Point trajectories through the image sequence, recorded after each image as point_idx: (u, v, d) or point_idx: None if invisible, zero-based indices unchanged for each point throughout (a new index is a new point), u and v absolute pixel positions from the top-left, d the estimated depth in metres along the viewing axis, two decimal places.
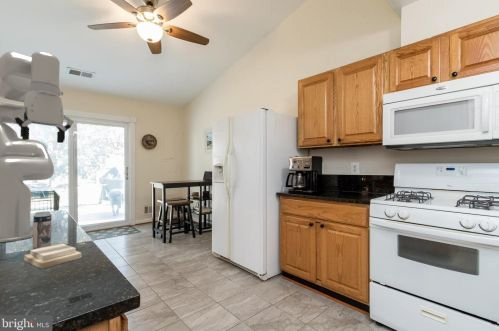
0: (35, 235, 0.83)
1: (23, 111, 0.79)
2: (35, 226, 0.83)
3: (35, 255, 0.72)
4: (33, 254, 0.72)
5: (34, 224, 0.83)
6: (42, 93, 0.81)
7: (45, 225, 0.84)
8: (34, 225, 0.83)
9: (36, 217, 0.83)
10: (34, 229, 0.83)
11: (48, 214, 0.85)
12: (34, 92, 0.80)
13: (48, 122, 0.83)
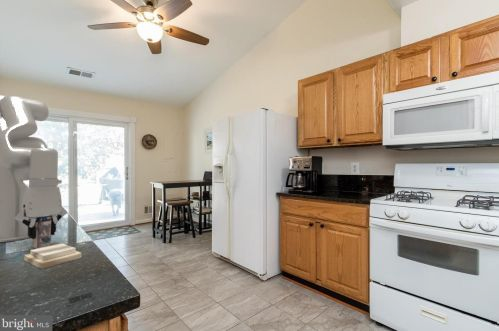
0: None
1: None
2: (35, 226, 0.83)
3: (35, 255, 0.72)
4: (33, 254, 0.72)
5: (34, 224, 0.83)
6: (41, 189, 0.83)
7: (45, 225, 0.84)
8: (34, 225, 0.83)
9: None
10: None
11: None
12: (33, 189, 0.81)
13: None
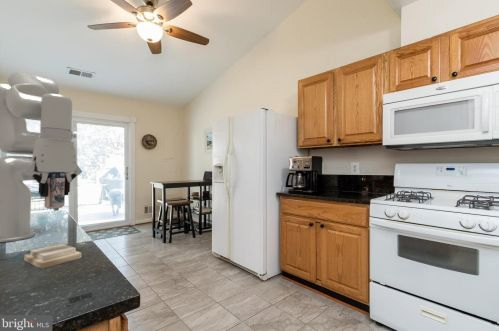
0: None
1: (36, 165, 0.71)
2: (47, 182, 0.73)
3: (35, 255, 0.72)
4: (33, 254, 0.72)
5: (46, 180, 0.73)
6: (53, 140, 0.73)
7: (58, 182, 0.74)
8: (46, 181, 0.73)
9: None
10: None
11: None
12: (45, 140, 0.71)
13: None
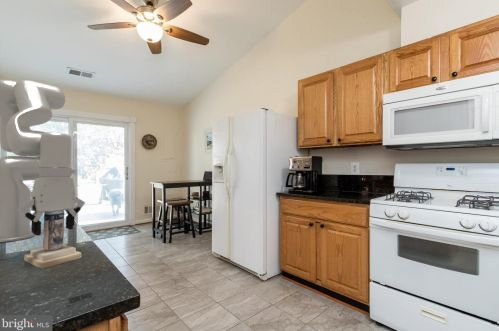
0: (46, 235, 0.73)
1: (32, 203, 0.70)
2: (46, 225, 0.73)
3: (35, 255, 0.72)
4: (33, 254, 0.72)
5: (45, 223, 0.73)
6: (52, 179, 0.72)
7: (57, 224, 0.74)
8: (45, 224, 0.73)
9: (47, 215, 0.73)
10: (45, 228, 0.73)
11: (60, 211, 0.75)
12: (44, 179, 0.71)
13: (59, 209, 0.74)
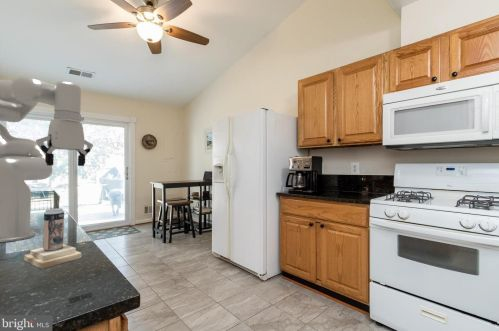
0: (46, 235, 0.73)
1: (48, 139, 0.83)
2: (46, 225, 0.73)
3: (35, 255, 0.72)
4: (33, 254, 0.72)
5: (45, 223, 0.73)
6: (65, 121, 0.85)
7: (57, 224, 0.74)
8: (45, 224, 0.73)
9: (47, 214, 0.73)
10: (45, 228, 0.73)
11: (60, 211, 0.75)
12: (58, 120, 0.84)
13: (70, 148, 0.87)
